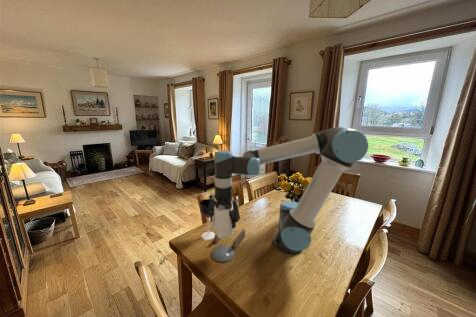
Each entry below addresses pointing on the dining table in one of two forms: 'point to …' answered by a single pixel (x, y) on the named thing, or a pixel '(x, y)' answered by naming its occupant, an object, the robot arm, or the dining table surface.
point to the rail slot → (236, 241)
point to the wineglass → (204, 209)
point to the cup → (222, 221)
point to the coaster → (222, 253)
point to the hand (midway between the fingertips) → (222, 230)
